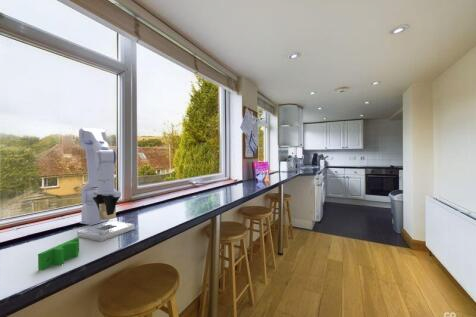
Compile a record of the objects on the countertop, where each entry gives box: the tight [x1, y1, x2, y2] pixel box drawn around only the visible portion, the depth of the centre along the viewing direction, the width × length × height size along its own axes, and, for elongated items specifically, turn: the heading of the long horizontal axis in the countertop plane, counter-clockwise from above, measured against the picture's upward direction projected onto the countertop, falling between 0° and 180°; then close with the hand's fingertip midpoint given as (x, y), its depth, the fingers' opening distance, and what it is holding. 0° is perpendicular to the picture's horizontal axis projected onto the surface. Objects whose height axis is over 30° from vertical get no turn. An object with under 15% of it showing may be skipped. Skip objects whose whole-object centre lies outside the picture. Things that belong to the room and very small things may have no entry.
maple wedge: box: [99, 203, 117, 221], centre depth 83 cm, size 4×4×6 cm
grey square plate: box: [76, 220, 135, 243], centre depth 82 cm, size 14×14×2 cm
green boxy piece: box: [37, 237, 80, 271], centre depth 60 cm, size 11×4×5 cm, turn 173°
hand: (106, 214), depth 82 cm, fingers closed on maple wedge, 4 cm apart
